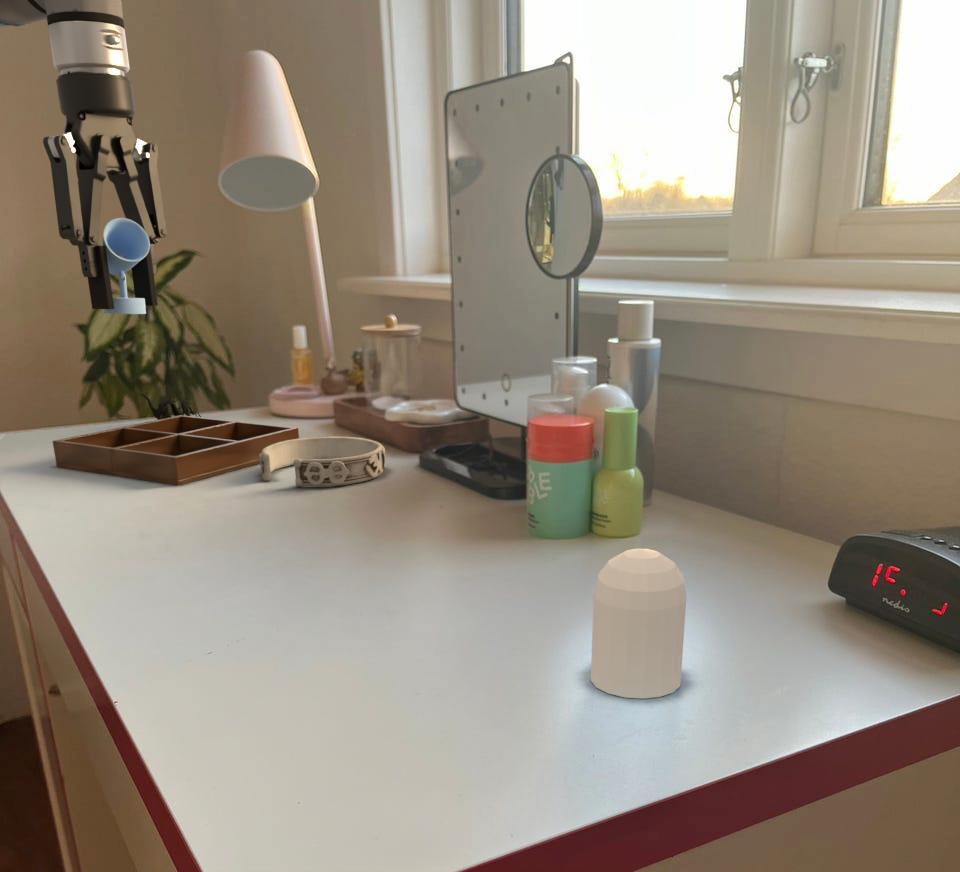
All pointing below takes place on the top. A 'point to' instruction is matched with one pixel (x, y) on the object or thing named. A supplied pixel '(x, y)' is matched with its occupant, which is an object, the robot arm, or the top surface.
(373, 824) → the top surface
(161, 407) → the creature
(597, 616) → the cream domed cylinder
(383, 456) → the bracelet
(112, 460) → the tray
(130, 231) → the spotlight
